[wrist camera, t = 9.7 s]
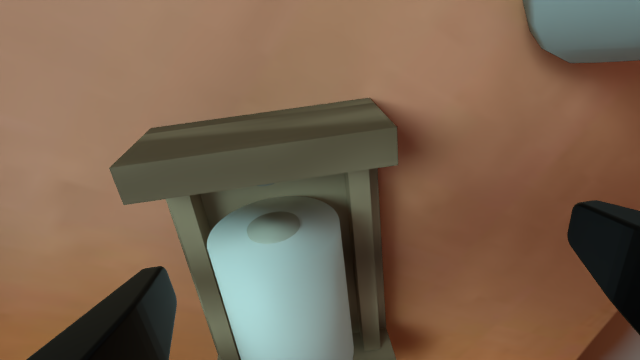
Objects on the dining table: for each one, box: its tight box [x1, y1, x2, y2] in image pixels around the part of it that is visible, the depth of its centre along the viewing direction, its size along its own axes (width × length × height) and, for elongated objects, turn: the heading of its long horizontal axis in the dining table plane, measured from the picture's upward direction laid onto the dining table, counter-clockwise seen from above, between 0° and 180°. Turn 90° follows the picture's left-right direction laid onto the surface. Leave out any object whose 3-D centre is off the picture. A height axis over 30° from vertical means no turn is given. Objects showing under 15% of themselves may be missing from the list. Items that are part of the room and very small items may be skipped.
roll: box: [207, 196, 354, 360], centre depth 19 cm, size 8×6×6 cm
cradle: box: [109, 98, 398, 360], centre depth 20 cm, size 17×11×5 cm, turn 6°
